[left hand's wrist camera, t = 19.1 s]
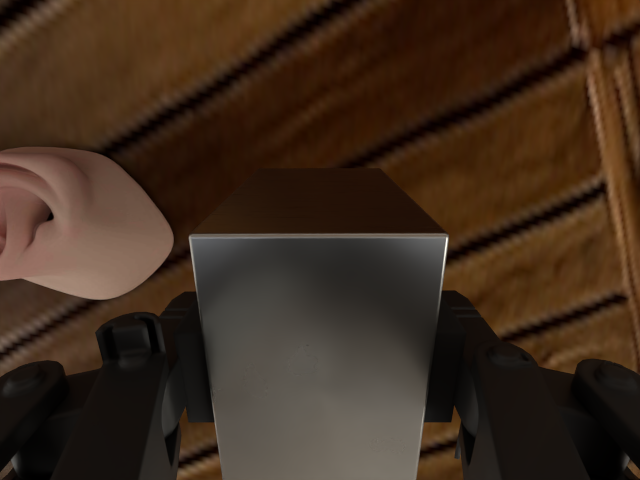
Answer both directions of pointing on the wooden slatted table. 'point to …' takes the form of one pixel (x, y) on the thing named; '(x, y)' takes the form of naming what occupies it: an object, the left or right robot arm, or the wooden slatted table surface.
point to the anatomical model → (77, 223)
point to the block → (319, 324)
